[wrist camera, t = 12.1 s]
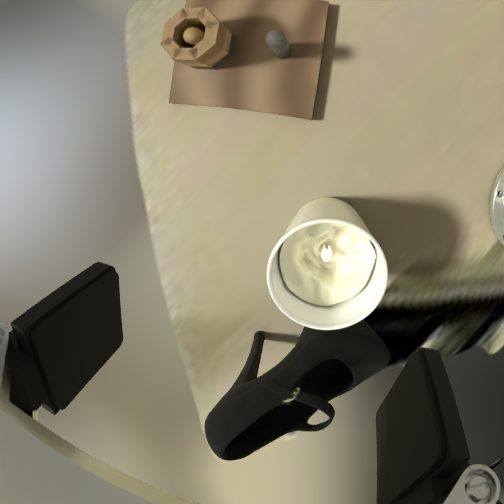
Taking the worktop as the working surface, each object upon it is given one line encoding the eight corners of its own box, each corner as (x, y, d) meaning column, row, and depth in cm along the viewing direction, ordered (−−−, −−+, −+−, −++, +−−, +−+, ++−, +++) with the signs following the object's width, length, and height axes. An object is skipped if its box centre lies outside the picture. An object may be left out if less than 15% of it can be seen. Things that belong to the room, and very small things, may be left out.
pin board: (328, 5, 26) (328, -22, 19) (311, 120, 31) (309, 117, 25) (191, -2, 28) (164, -23, 22) (173, 103, 34) (142, 100, 27)
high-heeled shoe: (384, 338, 39) (404, 465, 21) (251, 358, 45) (209, 473, 27) (378, 287, 37) (408, 415, 18) (234, 312, 42) (175, 428, 24)
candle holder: (349, 175, 33) (363, 199, 22) (381, 254, 35) (402, 308, 24) (269, 210, 36) (245, 248, 25) (305, 283, 38) (296, 343, 28)
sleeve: (238, 24, 28) (222, 6, 22) (231, 70, 30) (212, 60, 25) (190, 24, 29) (167, 9, 23) (183, 68, 31) (157, 60, 25)
